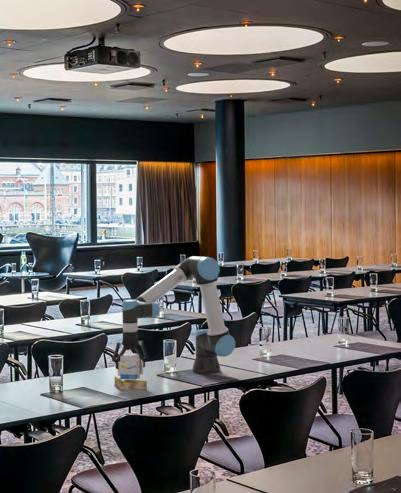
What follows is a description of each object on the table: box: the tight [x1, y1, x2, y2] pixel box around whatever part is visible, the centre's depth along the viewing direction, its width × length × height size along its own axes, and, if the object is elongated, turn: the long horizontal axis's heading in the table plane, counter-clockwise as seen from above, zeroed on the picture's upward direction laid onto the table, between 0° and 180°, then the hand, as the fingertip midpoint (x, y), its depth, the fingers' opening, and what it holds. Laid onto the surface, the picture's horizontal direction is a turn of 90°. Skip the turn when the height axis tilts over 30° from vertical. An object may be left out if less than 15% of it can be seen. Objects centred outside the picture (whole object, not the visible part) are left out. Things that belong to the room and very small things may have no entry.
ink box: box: [119, 352, 142, 380], centre depth 448 cm, size 9×8×12 cm
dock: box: [114, 375, 148, 392], centre depth 449 cm, size 13×14×4 cm
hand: (130, 374), depth 449 cm, fingers closed on ink box, 11 cm apart
